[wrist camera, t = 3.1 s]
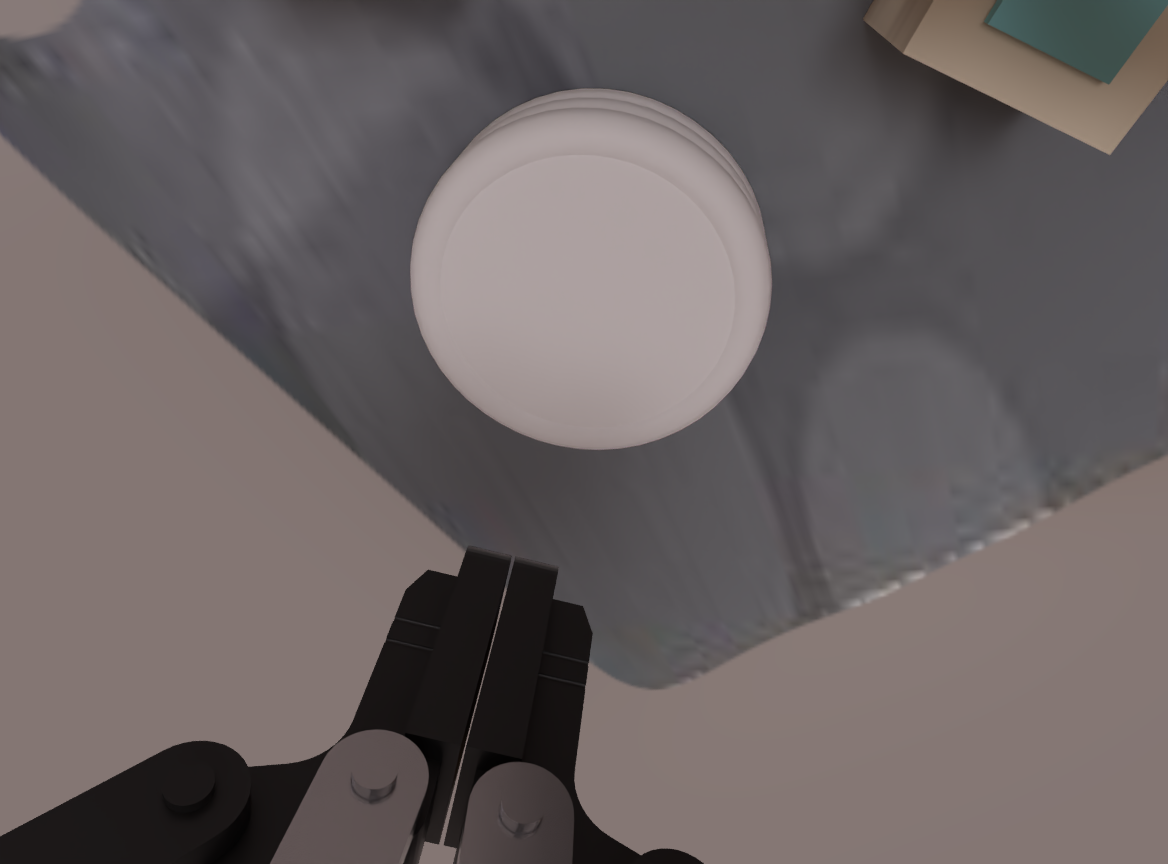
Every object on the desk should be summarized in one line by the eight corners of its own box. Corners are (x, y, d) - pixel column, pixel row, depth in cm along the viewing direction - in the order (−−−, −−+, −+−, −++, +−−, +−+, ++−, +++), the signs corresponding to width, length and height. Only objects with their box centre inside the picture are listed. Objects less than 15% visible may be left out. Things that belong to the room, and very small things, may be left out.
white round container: (538, 6, 22) (514, 26, 19) (836, 214, 24) (855, 260, 21) (385, 296, 27) (348, 346, 24) (641, 446, 29) (635, 509, 26)
